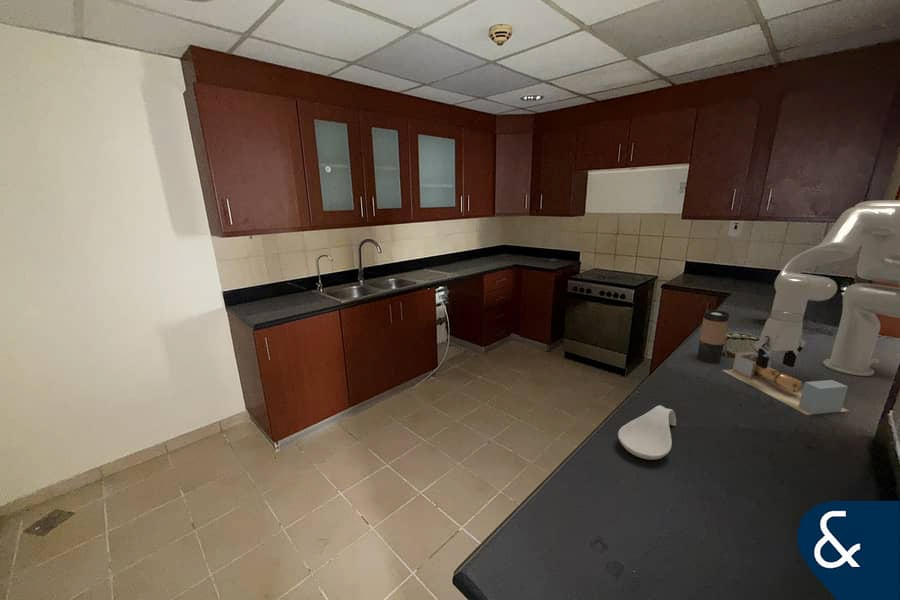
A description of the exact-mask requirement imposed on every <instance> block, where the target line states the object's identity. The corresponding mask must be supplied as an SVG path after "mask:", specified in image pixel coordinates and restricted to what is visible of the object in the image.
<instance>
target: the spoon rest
mask: <svg viewBox="0 0 900 600" xmlns="http://www.w3.org/2000/svg"><path fill="white" fill-rule="evenodd" d="M670 426H671V427H674V426H677V418H676V412H675V411H674V410H673V409H671V408H666V407H664V406H663V405H660V404H659V405H657V406H655V407H653V408H652V409H650V410H649V411H647V412H646V413H643V415H641V416H638V417H637V418H634V419H632V420H631V421H628V422H627V423H626V424H624V425H622V426H621V427H620V428H619V429H618V431H617V437H618V440H619V442H620V444H621V445H622V447H623V448H624V449H625V450H626V451H627V452H628V453H630V454H632V455H634V456H635V457H637V458H641V459H643V460H644V459H645V460H649V461H651V460H658V459H659V460H660V459H662V458H664V457H665V456H667V455H668V454H669V452H671V450H672V442H673V441H672V440H673V439H672V433H671V429H670V428H671V427H670Z"/></svg>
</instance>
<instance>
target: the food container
mask: <svg viewBox="0 0 900 600" xmlns="http://www.w3.org/2000/svg"><path fill="white" fill-rule="evenodd" d="M760 337H761V335H760V336H759V335H756V334H753V333H749V332H744V331H729V332H726V336H725V342H724V346H725V347H724V357H725V358H732V359H735V355H736V353H741V352H755V353H757V352H756V350H755V346H754V343H755V342H756V341H758V340H760ZM744 358H745V357H744ZM748 358H749V357H748Z"/></svg>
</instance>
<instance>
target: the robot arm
mask: <svg viewBox="0 0 900 600" xmlns="http://www.w3.org/2000/svg"><path fill="white" fill-rule="evenodd" d="M860 248H861V250H860ZM859 250H860V254H859V258H858V261H857V266H856V275H857V277H859V278H861V279H864V280H869V281H874V282H880V283H889V284H897V285H899V287H894V286H887V285H882V284H875V283H867V282H865V283H863V282H862V283H861V282H860V283H853V284H850V285H849V286H847V287H846V288H845V289H844V291H843V295H842V311H841V312H842V313H841V317H840V322H839V325H838V329H837V333H836V337H835V340H834V344H833V348H832V351H831V355H830V358H826V359H824V360H823V361H822V362H823V363H822V364H823V365H824V366H825V367H826V368H829V369H831V370H833V371H836V372H840V373H842V374H847V375H851V376H859V377H869V376H873V375H874V374H875V370H874V369H873V368H872V367H871V365H877V364H879V363H880V360H879V359H877V358H872V357H873V352H874V350H875V346H876V343H877V339H878V336H879V333H880V330H881V322H880V320H879V318H878V315H881V316H888V317H893V318H898V319H900V199H899V200H898V199H893V200H892V199H889V200H888V199H886V200H885V199H884V200H878V199H877V200H876V199H875V200H867V201H862V202H859V203H857V204H855V206H854V207H849V208H848V209H845V211H843V212H842V213H841V214H840V216H839V217H838V218H837V220H836V221H835V223H834V224H833V225H832V227H831V228H830V230H829V231H828V233H827V234H826V235H825V236H824V238H823V239H822V241H821V242H820V243H819V244H818V245H815V246H814V247H811V248H808V249H807V250H805V251H802V252H801V253H799V254H797V255H795V256H793V257H792V258H791V259H789V261H787V263H786V264H785V265H784V266H783V268H782V269H781V271H780V272H779V273H778V275H777V277H776V278H775V281H774V290H775V296H774V299H773V304H772V308H771V312H770V313H771V314H770V317H769V318H767V320H766V322H765V324H764V326H763V328H762V331H761V335H760V340H758V341H756V342H755V343H754V346H755V350H756V352H757V354H758V357H757V362H756V365H757V366H759V367H761V368H764V369H766V368H767V365H768V361H770V357H769V355H770V354H771V353H773V352H784V354H783V359H782V364H783V365H785V366H786V367H789V368H795V364H796V360H797V357H799V355H800V352H801V351H802V350H803V348H804V346H805V345H806V343H807V341H806V340H804V339H802V335H803V325H804V324H803V322H804V317H805V312H806V308H807V306H808V301H814V302H815V301H816V302H822V301H828V300H829V299H831V298H833V296H835V295H836V293H837V291H838V285H837V283H836V281H835V280H834V279H831V278H830V277H826V276H821V275H813V274H808V273H807V274H806V273H802V272H804V271H805V270H808V269H810V268H811V267H815V266H818V265H822V264H823V265H824V264H827V263H834V262H840V261H843V260H848V259H850V258H852V257H854V256H855V255H856V253H857V252H858V251H859ZM876 314H878V315H876Z"/></svg>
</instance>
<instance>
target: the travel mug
mask: <svg viewBox="0 0 900 600" xmlns="http://www.w3.org/2000/svg"><path fill="white" fill-rule="evenodd" d="M729 317H730V314H729V312H726V311H723V310H722V311H721V310H716V309H715V310H714V309H708V310H706V311H704V313H703V319H702V324H701V328H700V329H701V330H700V331H701V332H700V336H699V343H698V351H697V359H698V360H699V361H701V362H702V363H707V364H716V365H717V364H720V363H721V359H722V355H723V350H724V348H725V347H724V346H725V343H726V339H725V336H726V333H727V329H728V325H729V324H728V323H729Z"/></svg>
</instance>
